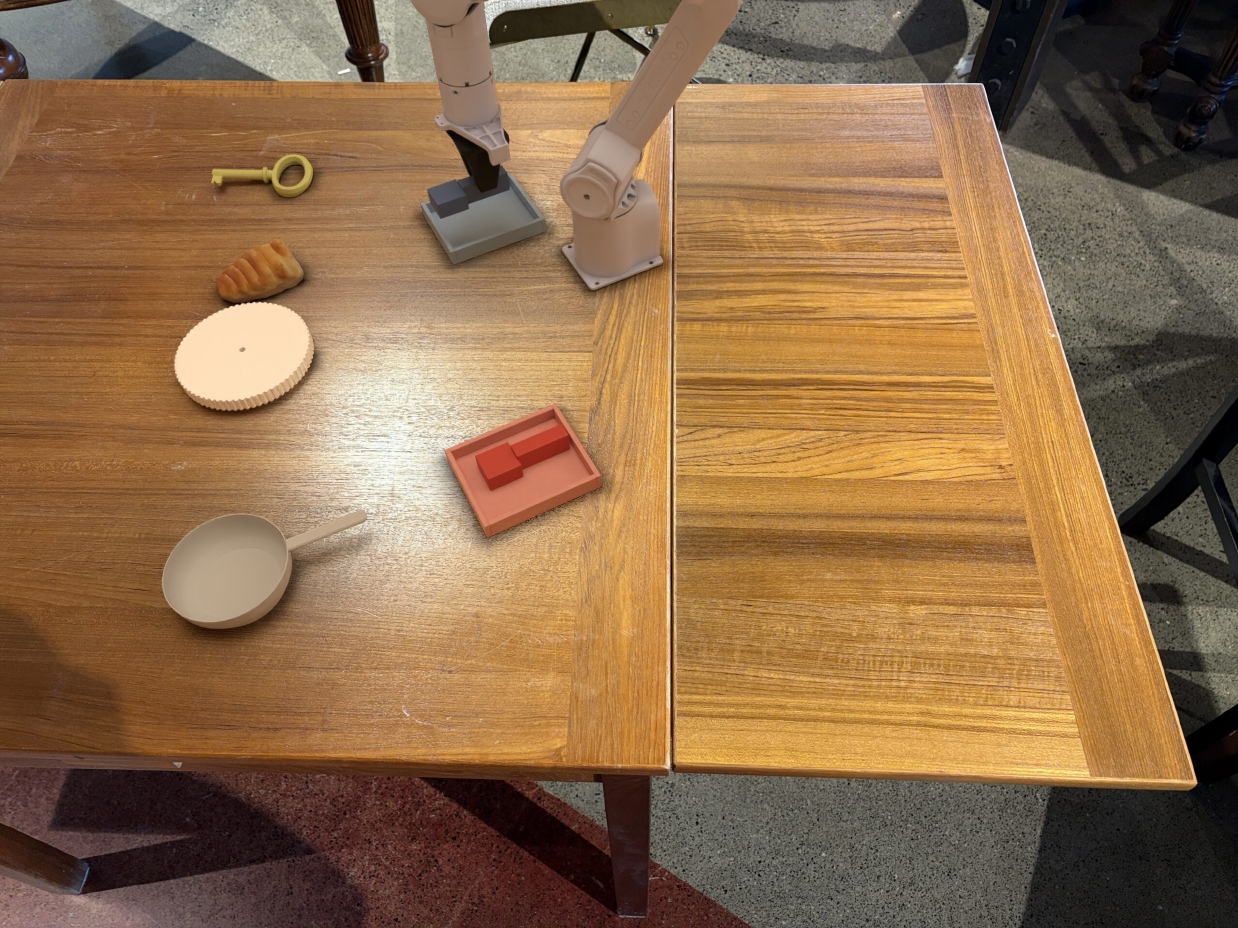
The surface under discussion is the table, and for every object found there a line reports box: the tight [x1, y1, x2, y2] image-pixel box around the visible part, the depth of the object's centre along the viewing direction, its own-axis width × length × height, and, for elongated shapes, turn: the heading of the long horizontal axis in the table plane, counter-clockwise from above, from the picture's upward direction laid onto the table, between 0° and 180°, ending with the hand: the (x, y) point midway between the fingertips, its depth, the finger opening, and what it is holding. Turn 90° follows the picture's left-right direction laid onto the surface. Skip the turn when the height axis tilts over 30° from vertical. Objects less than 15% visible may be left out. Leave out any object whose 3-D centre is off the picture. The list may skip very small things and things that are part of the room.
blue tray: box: [419, 172, 547, 265], centre depth 108 cm, size 12×10×2 cm
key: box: [210, 153, 314, 198], centre depth 113 cm, size 7×12×2 cm, turn 113°
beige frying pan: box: [161, 509, 368, 630], centre depth 80 cm, size 11×18×4 cm, turn 114°
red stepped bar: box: [475, 424, 570, 491], centre depth 87 cm, size 9×3×2 cm, turn 118°
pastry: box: [216, 238, 305, 304], centre depth 102 cm, size 9×7×4 cm
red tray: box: [444, 403, 603, 539], centre depth 86 cm, size 12×10×2 cm
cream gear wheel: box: [173, 301, 315, 412], centre depth 95 cm, size 14×14×2 cm
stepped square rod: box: [426, 164, 510, 219], centre depth 101 cm, size 9×3×2 cm, turn 118°
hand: (484, 183), depth 101 cm, fingers closed on stepped square rod, 1 cm apart
